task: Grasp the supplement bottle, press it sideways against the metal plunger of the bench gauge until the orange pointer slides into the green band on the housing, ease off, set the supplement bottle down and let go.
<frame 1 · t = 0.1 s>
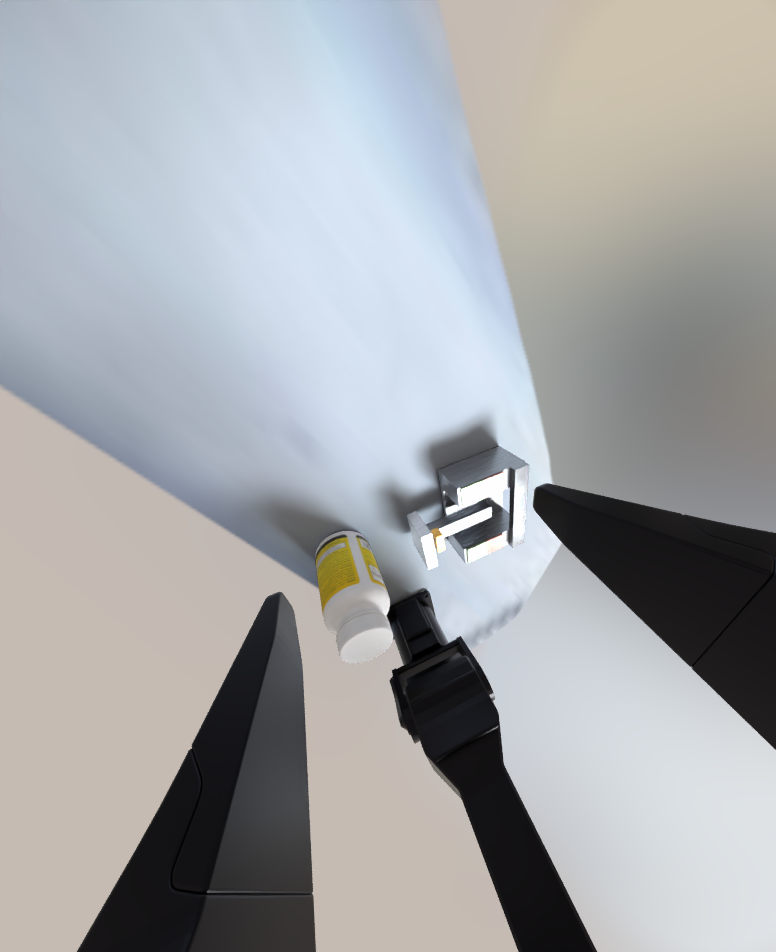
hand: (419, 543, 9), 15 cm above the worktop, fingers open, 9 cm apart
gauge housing: (471, 496, 30), on the worktop
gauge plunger: (454, 526, 27), point 3 cm above the worktop, slide at 0.0 cm
supplement bottle: (342, 549, 28), on the worktop
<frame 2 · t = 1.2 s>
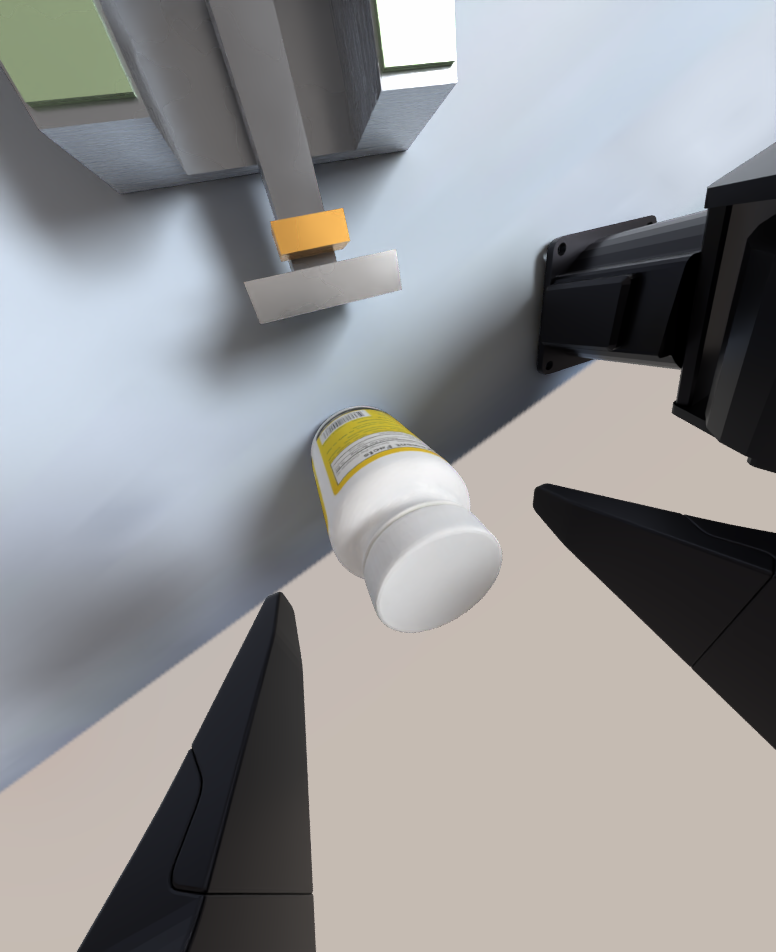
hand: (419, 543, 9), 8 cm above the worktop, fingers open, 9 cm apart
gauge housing: (225, 0, 8), on the worktop
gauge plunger: (279, 139, 7), point 3 cm above the worktop, slide at 0.0 cm
supplement bottle: (358, 449, 16), on the worktop
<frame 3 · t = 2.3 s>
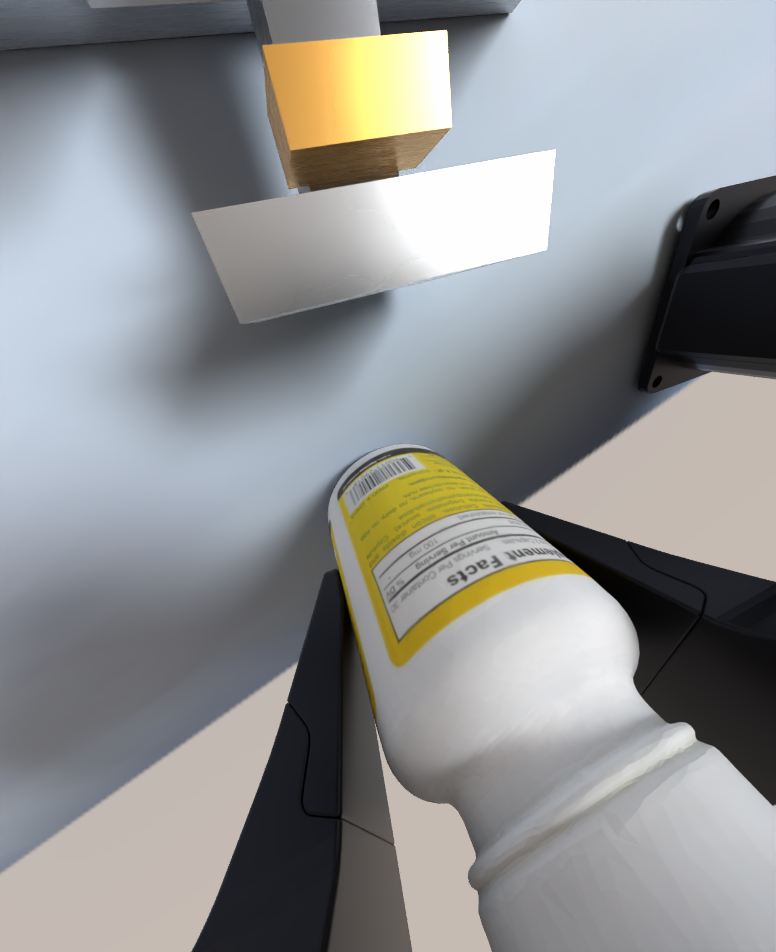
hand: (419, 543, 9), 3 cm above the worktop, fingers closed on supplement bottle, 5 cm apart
supplement bottle: (392, 499, 11), on the worktop, touching gripper
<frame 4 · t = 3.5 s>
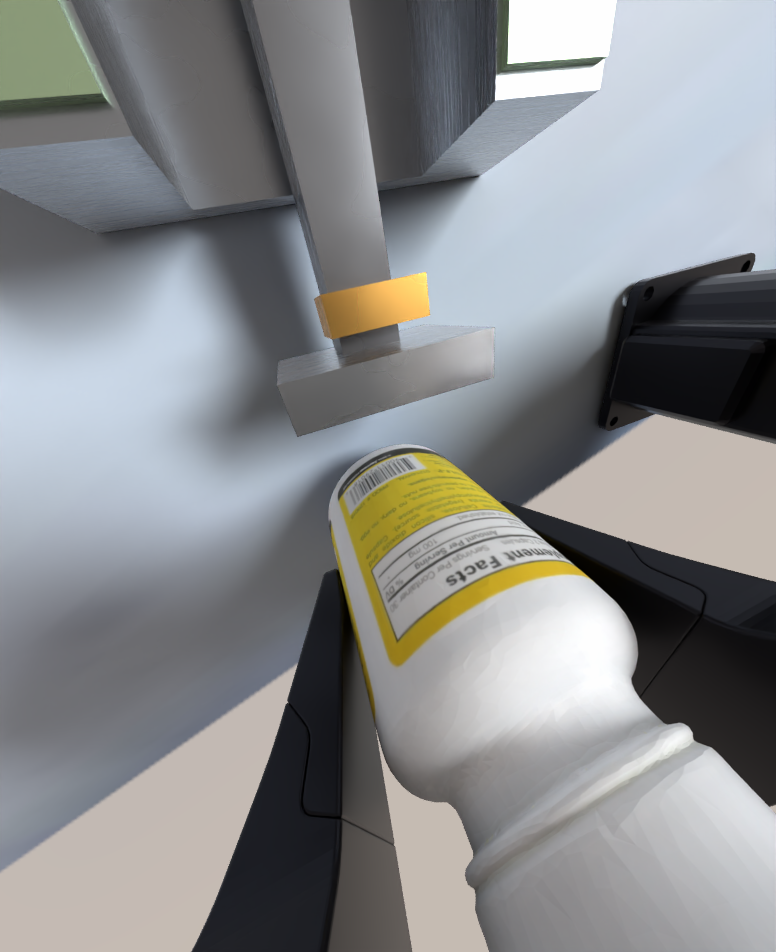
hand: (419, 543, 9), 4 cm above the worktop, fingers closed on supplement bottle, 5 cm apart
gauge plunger: (333, 168, 5), point 3 cm above the worktop, slide at 0.0 cm
supplement bottle: (393, 499, 11), point 1 cm above the worktop, touching gripper
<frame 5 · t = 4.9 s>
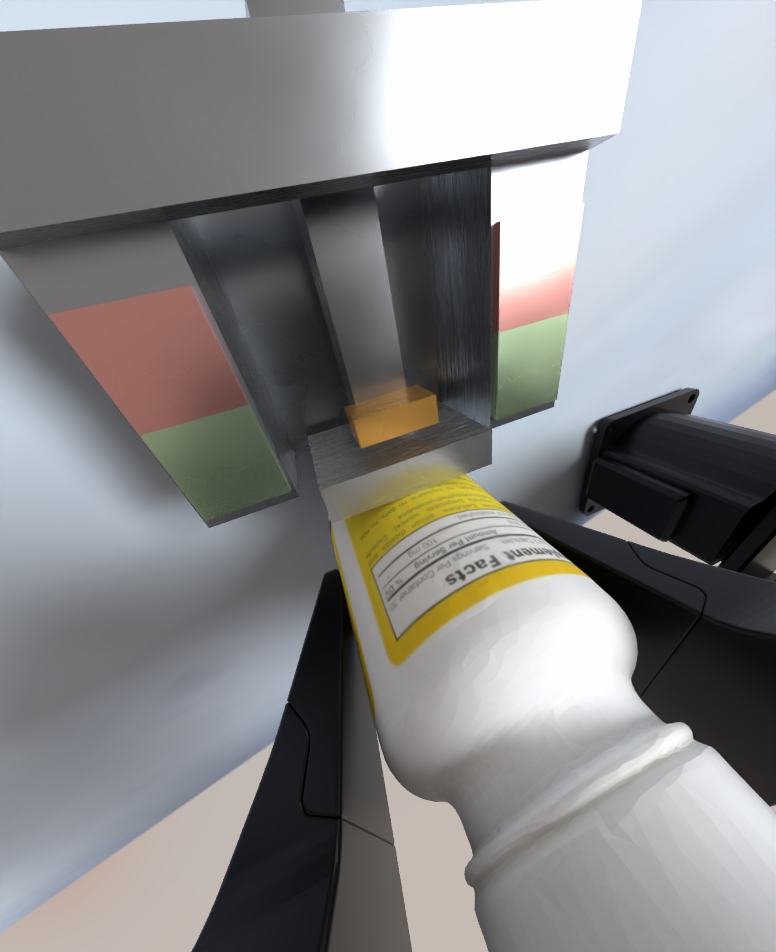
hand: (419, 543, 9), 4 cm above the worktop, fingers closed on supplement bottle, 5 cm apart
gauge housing: (340, 318, 9), on the worktop
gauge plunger: (361, 313, 6), point 3 cm above the worktop, slide at 3.8 cm, touching supplement bottle
supplement bottle: (393, 499, 11), point 1 cm above the worktop, touching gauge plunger, gripper
when the fingers open (3 cm above the worktop, at t = 6.6 s): supplement bottle stays where it is, on the worktop.
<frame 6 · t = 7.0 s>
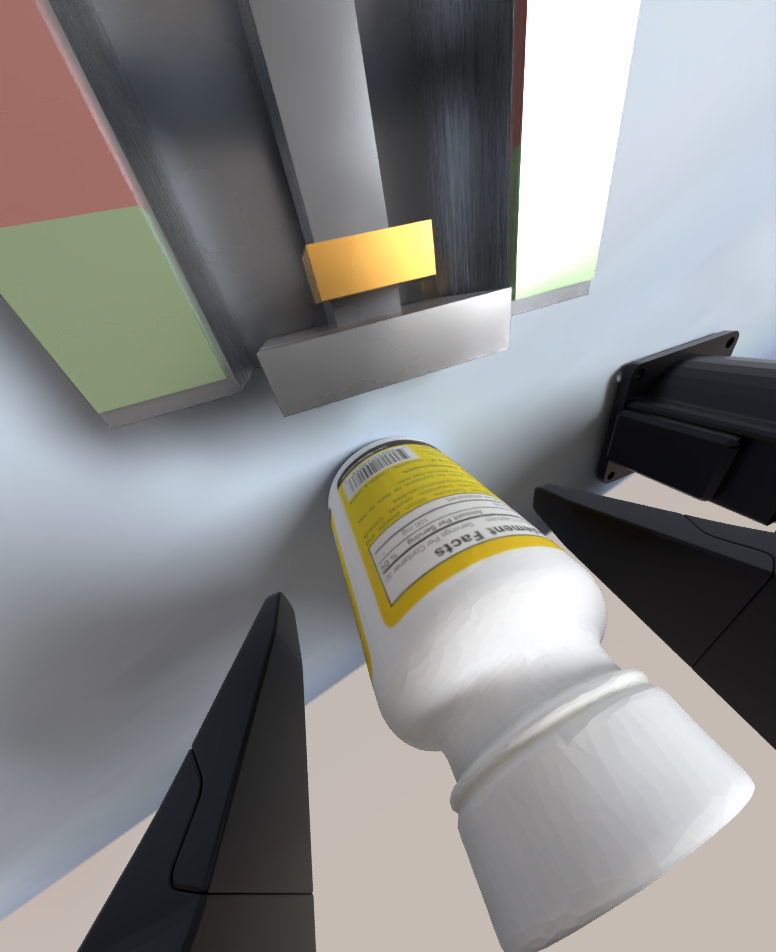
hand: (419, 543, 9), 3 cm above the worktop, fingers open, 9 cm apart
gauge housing: (309, 187, 7), on the worktop
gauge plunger: (320, 97, 4), point 3 cm above the worktop, slide at 3.9 cm
supplement bottle: (389, 489, 12), on the worktop
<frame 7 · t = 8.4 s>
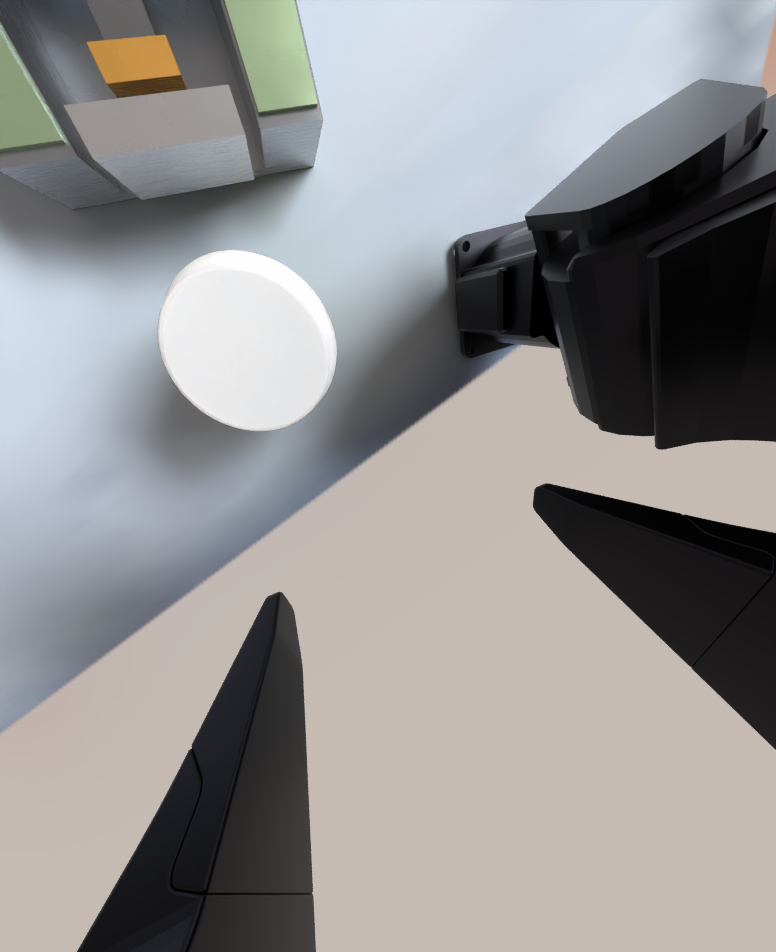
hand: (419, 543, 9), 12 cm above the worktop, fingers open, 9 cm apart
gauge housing: (146, 56, 10), on the worktop
supplement bottle: (267, 337, 15), on the worktop
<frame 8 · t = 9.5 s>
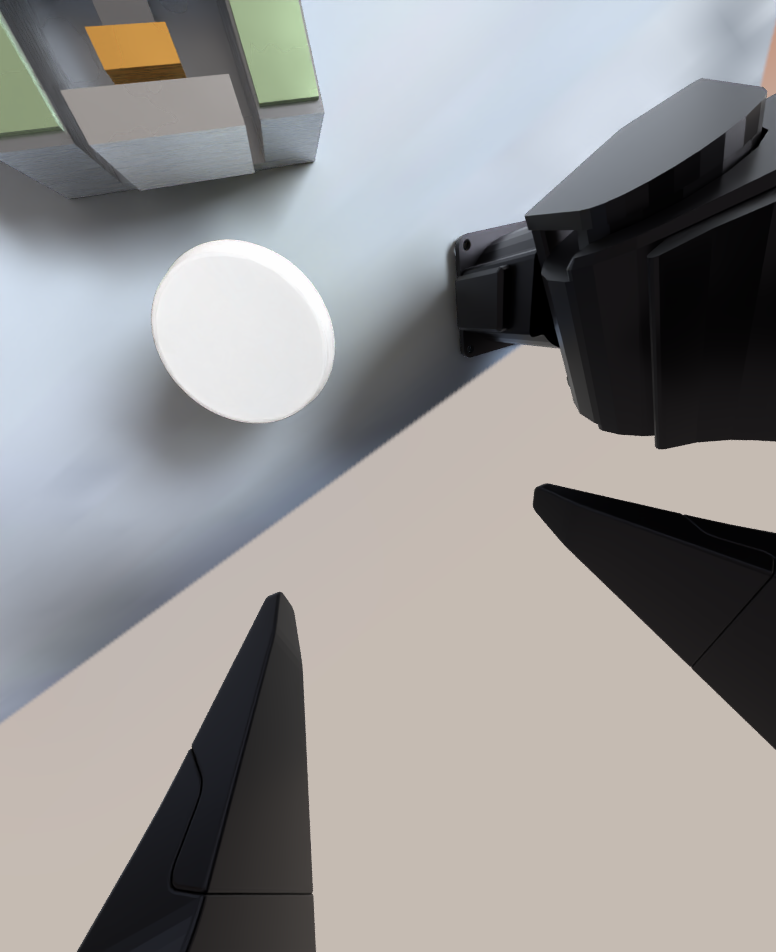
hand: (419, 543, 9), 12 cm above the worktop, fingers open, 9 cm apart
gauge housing: (146, 46, 10), on the worktop
supplement bottle: (266, 333, 15), on the worktop
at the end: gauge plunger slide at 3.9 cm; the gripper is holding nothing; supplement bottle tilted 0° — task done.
